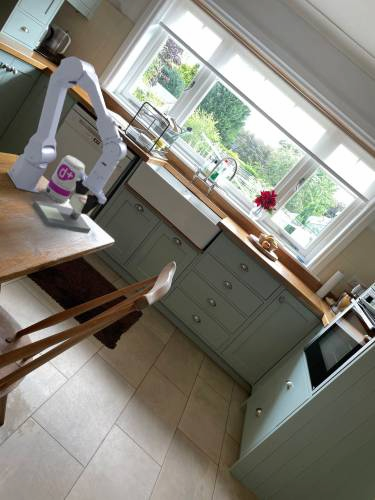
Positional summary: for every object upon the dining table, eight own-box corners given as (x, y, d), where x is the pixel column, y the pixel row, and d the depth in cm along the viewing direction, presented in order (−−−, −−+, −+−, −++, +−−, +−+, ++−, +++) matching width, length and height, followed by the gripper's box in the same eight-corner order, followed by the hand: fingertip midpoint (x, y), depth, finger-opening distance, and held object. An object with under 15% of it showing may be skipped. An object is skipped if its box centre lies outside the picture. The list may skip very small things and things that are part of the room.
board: (33, 204, 121) (35, 200, 120) (74, 212, 134) (76, 209, 133) (47, 226, 115) (49, 222, 115) (88, 232, 129) (90, 228, 128)
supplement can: (58, 205, 131) (79, 169, 126) (39, 190, 131) (60, 154, 126) (70, 201, 139) (90, 168, 134) (52, 188, 139) (72, 153, 134)
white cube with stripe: (81, 205, 130) (87, 195, 128) (89, 215, 127) (95, 205, 126) (68, 202, 125) (74, 192, 124) (76, 212, 123) (82, 202, 121)
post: (68, 213, 127) (75, 203, 125) (75, 215, 129) (81, 204, 128) (72, 219, 126) (78, 208, 124) (79, 220, 128) (85, 209, 126)
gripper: (79, 158, 122) (59, 192, 126) (102, 185, 115) (80, 219, 120) (96, 164, 128) (76, 196, 132) (118, 189, 121) (97, 222, 125)
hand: (79, 207), depth 126 cm, fingers closed on white cube with stripe, 5 cm apart
